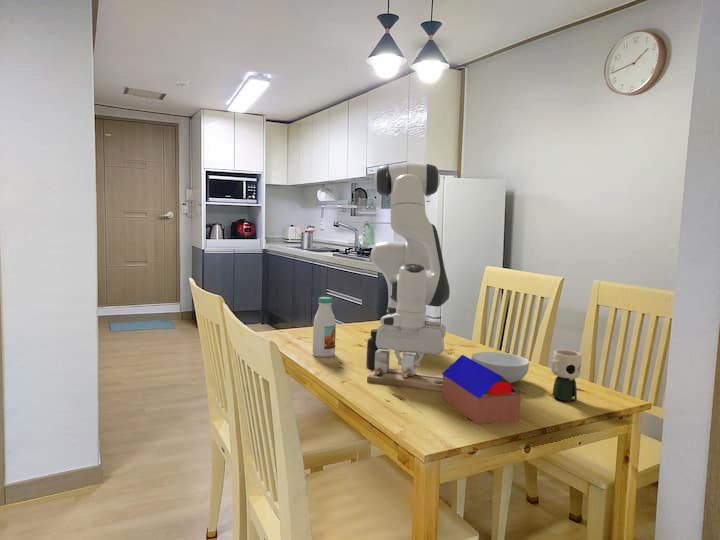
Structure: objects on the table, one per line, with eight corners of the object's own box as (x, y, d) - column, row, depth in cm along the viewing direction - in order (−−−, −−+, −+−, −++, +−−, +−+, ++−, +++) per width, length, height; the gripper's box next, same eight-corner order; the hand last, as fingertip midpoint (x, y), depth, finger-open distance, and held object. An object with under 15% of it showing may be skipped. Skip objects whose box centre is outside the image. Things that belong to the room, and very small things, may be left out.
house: (479, 394, 149) (481, 353, 147) (521, 421, 130) (524, 374, 128) (440, 397, 145) (442, 355, 144) (477, 425, 126) (479, 377, 125)
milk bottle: (315, 358, 180) (316, 299, 178) (310, 352, 187) (311, 296, 185) (337, 357, 182) (339, 299, 180) (331, 351, 189) (333, 295, 187)
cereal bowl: (539, 385, 158) (541, 362, 157) (498, 393, 150) (499, 368, 149) (498, 370, 173) (500, 348, 172) (458, 376, 165) (460, 353, 164)
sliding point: (404, 371, 162) (405, 351, 161) (415, 372, 161) (416, 353, 160) (399, 377, 155) (400, 357, 155) (411, 378, 154) (412, 358, 154)
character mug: (560, 405, 141) (563, 357, 140) (539, 397, 147) (543, 351, 146) (588, 400, 146) (592, 354, 145) (568, 392, 152) (571, 348, 151)
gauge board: (377, 371, 166) (378, 347, 166) (464, 382, 158) (466, 356, 158) (367, 381, 156) (368, 355, 155) (460, 393, 148) (461, 366, 147)
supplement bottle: (385, 370, 168) (387, 333, 166) (364, 369, 169) (365, 331, 168) (388, 365, 174) (390, 329, 173) (368, 363, 176) (369, 327, 174)
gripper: (447, 321, 157) (445, 366, 159) (380, 315, 163) (379, 359, 165) (444, 324, 151) (442, 372, 153) (375, 318, 157) (373, 364, 159)
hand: (408, 365), depth 159 cm, fingers closed on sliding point, 3 cm apart
